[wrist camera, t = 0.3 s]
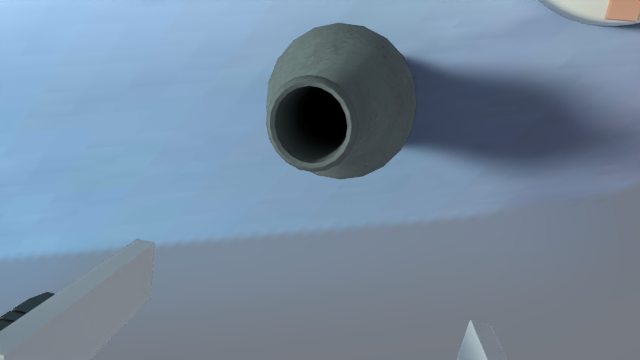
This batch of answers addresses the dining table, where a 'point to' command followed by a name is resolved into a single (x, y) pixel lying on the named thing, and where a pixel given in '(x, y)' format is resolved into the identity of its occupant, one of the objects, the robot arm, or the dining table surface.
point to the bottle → (340, 102)
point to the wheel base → (597, 11)
